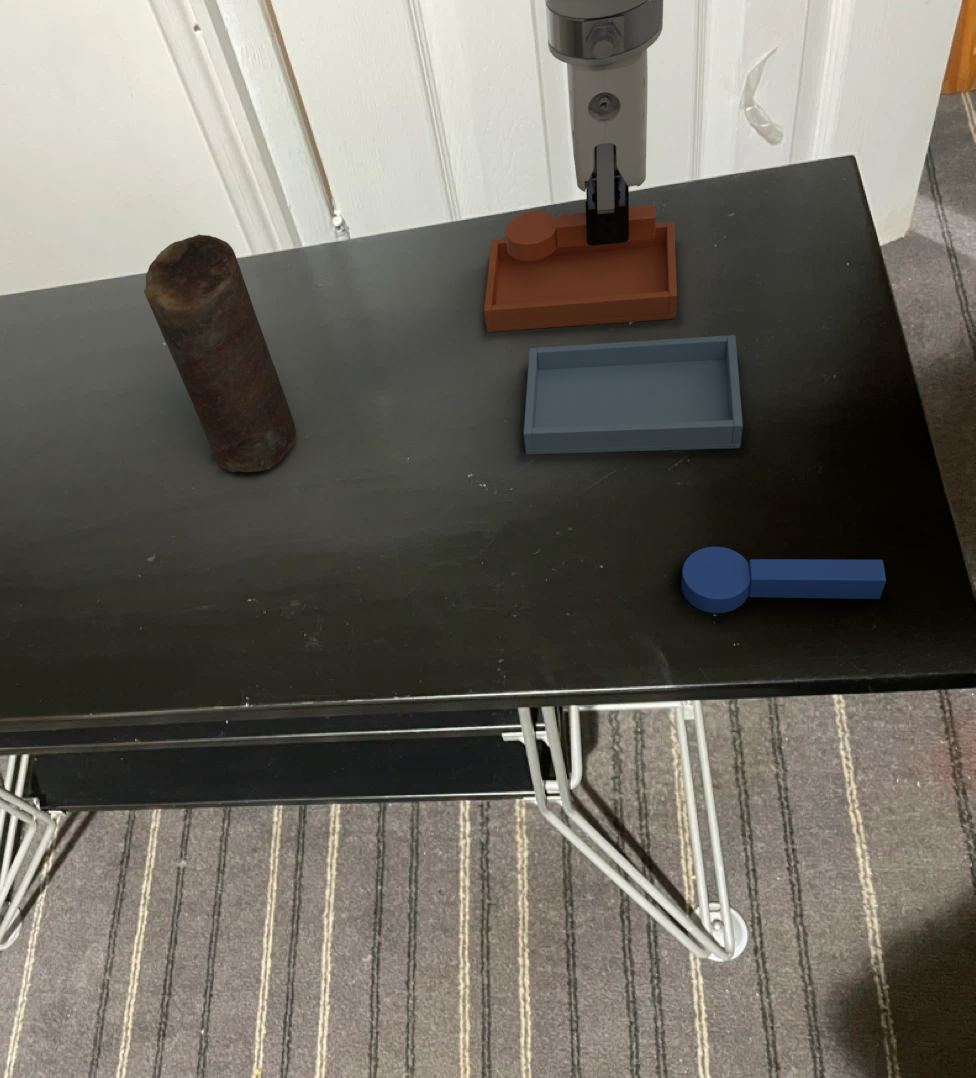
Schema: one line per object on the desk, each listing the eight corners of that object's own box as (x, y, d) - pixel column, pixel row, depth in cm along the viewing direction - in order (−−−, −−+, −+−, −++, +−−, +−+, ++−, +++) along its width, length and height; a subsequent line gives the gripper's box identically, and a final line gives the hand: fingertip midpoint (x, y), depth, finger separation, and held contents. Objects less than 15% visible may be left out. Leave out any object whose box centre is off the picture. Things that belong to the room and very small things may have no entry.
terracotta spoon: (654, 216, 85) (655, 193, 83) (655, 249, 83) (655, 227, 81) (508, 230, 89) (506, 209, 87) (505, 263, 87) (503, 242, 85)
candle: (313, 419, 89) (247, 232, 74) (287, 485, 86) (212, 303, 71) (234, 414, 93) (155, 234, 77) (206, 478, 89) (117, 302, 74)
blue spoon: (874, 561, 68) (880, 542, 66) (882, 616, 65) (889, 598, 64) (680, 561, 72) (681, 542, 70) (682, 613, 69) (683, 595, 68)
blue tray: (733, 358, 81) (735, 334, 79) (740, 448, 76) (742, 425, 74) (531, 369, 86) (529, 347, 84) (526, 454, 81) (523, 433, 79)
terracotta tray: (673, 245, 90) (674, 221, 88) (676, 318, 85) (677, 295, 83) (494, 261, 95) (491, 239, 93) (487, 332, 90) (483, 310, 88)
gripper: (665, 72, 65) (658, 294, 79) (661, -54, 73) (655, 167, 88) (541, 89, 67) (556, 302, 82) (551, -35, 76) (563, 177, 90)
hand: (607, 231), depth 85 cm, fingers closed on terracotta spoon, 1 cm apart
